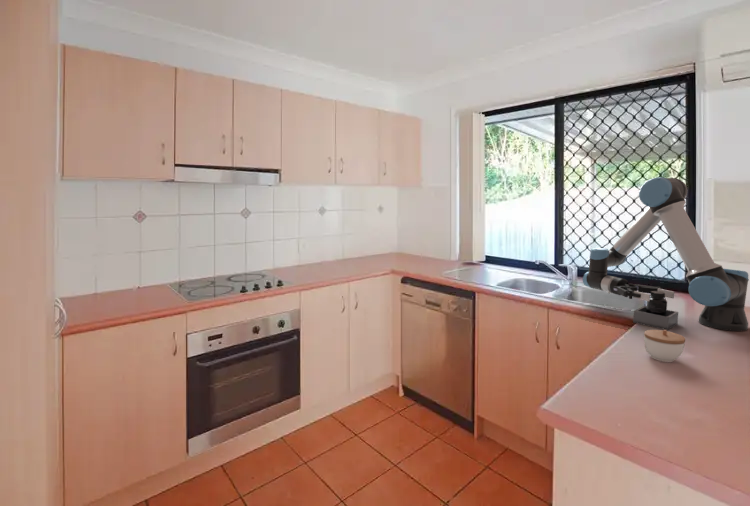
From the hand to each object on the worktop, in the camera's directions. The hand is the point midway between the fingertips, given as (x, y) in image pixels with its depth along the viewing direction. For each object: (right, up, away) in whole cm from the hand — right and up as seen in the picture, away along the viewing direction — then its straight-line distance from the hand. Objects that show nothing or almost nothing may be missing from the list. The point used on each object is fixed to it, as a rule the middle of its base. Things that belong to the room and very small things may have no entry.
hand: (661, 296), depth 163 cm
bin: (0, -11, +3) cm, 12 cm away
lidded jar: (-23, -17, -32) cm, 43 cm away
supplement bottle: (0, -10, +3) cm, 11 cm away
